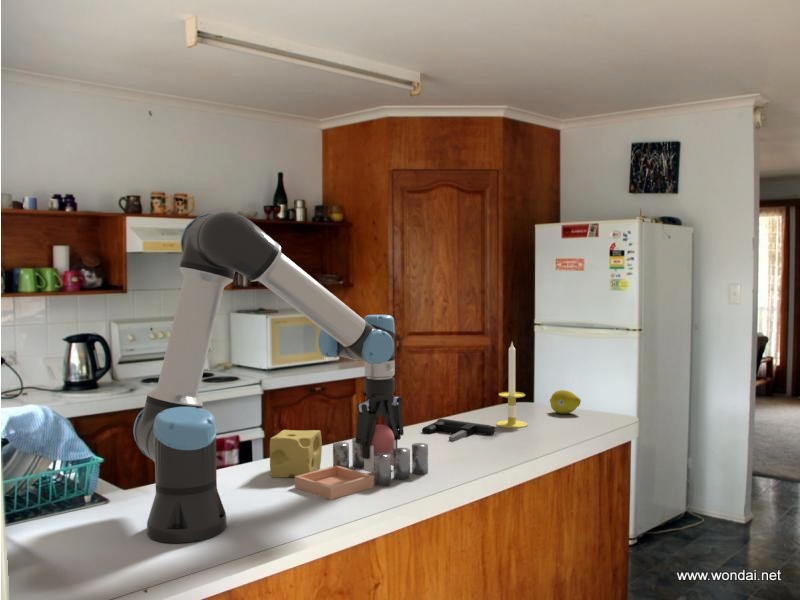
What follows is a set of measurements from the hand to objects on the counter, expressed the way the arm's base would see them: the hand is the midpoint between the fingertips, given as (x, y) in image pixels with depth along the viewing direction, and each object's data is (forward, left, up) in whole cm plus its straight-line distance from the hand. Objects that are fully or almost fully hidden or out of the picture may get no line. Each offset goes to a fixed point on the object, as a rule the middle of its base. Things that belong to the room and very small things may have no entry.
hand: (380, 467), depth 187 cm
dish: (-16, -1, -1) cm, 16 cm away
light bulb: (0, 0, -1) cm, 1 cm away
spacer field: (0, 0, -1) cm, 1 cm away
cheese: (-15, +15, -1) cm, 21 cm away
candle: (+66, +8, -1) cm, 66 cm away
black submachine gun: (+44, +13, -2) cm, 46 cm away
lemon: (+92, +5, -1) cm, 92 cm away
